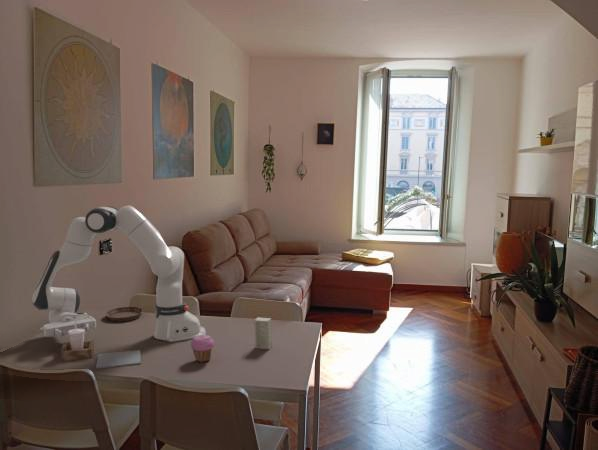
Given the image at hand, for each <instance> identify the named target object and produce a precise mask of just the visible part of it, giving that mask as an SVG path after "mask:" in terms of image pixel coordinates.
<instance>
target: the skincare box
mask: <svg viewBox="0 0 598 450" xmlns="http://www.w3.org/2000/svg"><path fill="white" fill-rule="evenodd" d="M272 327H273V326H272V317H259V316H258V317H256V318H255V319H254V341H255V342H254V345H255V349H258V350H259V349H260V350H261V349H262V350H270V349H271V347H272V346H273V331H272Z"/></svg>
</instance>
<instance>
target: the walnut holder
mask: <svg viewBox="0 0 598 450" xmlns="http://www.w3.org/2000/svg"><path fill="white" fill-rule="evenodd" d="M94 341H95V339H91V340H90V339H88V340H84V345H83V349H78V350H72V348H71V343H70V341H68V342H63V343H62V346H61V349H60V350H59V357H60V362H64V361H74V360H81V359H91V358H92V359H93V355H94V350H95V343H94Z"/></svg>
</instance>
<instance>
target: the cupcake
mask: <svg viewBox="0 0 598 450" xmlns="http://www.w3.org/2000/svg"><path fill="white" fill-rule="evenodd" d="M214 346H215V342H214V340H213V339H212V337H211V336H210V335H207V334H205V335H198V336H196V337H195V338H192V339H191V342H190V349H192V353H193V355H194V358H195V360H196V361H198V362H201V363H203V362H208V361H210V360H211V358H212V350H213V348H214Z"/></svg>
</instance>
